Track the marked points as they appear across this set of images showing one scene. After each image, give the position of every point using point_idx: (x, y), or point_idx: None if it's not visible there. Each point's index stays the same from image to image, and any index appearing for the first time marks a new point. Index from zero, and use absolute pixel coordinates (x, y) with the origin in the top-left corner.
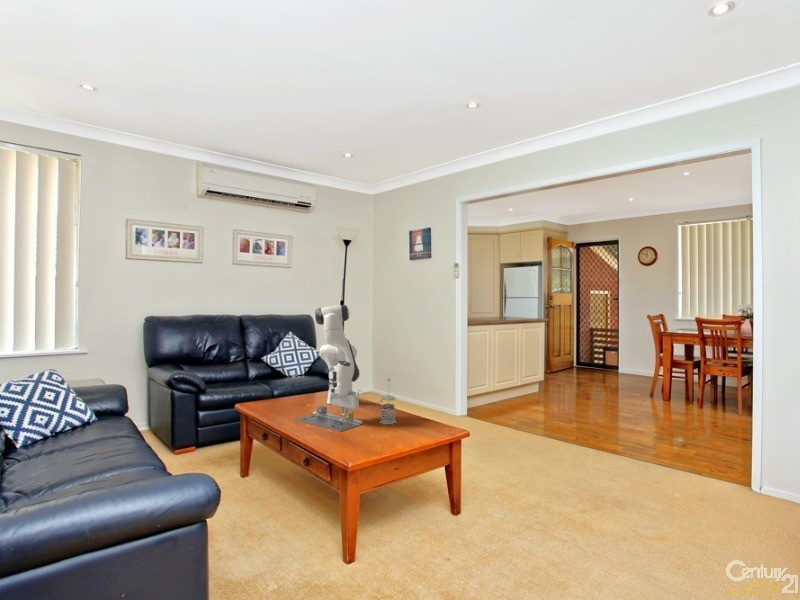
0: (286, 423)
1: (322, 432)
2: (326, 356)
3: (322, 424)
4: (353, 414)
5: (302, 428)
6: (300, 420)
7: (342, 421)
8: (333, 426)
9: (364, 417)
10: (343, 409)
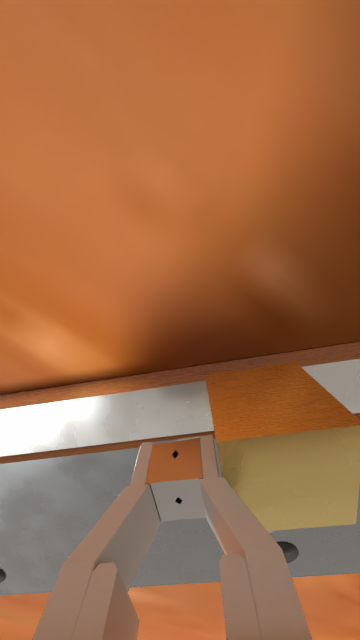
0: (27, 631)
1: (315, 612)
2: None
3: (193, 568)
4: (331, 399)
5: (168, 629)
6: (12, 591)
7: None
8: (295, 555)
9: (229, 98)
10: (131, 519)
